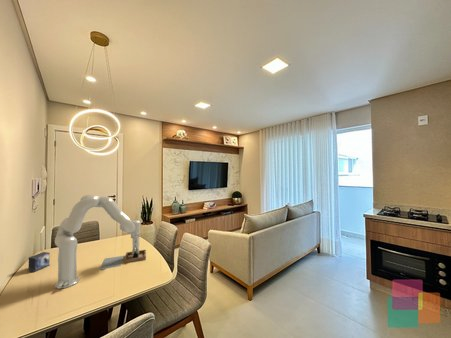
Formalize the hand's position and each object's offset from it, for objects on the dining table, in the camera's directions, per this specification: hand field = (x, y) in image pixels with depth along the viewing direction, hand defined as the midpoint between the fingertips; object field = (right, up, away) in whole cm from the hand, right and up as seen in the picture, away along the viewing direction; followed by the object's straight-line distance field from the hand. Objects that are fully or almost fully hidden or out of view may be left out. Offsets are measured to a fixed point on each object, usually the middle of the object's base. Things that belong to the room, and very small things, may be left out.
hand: (135, 256), depth 167 cm
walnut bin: (0, -2, 0) cm, 2 cm away
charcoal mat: (-15, -2, -8) cm, 17 cm away
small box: (-67, -2, -17) cm, 69 cm away
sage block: (0, -1, 0) cm, 1 cm away
